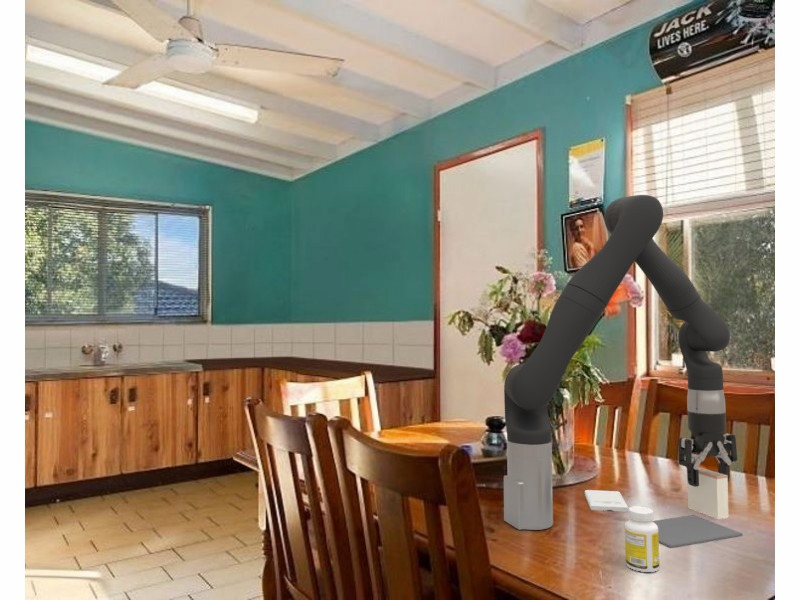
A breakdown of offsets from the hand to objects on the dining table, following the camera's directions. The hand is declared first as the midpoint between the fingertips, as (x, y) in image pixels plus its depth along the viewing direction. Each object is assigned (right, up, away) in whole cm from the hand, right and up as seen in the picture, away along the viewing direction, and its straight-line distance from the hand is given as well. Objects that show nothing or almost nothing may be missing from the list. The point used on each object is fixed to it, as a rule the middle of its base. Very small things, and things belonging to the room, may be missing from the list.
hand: (709, 483), depth 131 cm
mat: (-11, -6, -11) cm, 17 cm away
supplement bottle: (-26, -6, -28) cm, 39 cm away
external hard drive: (-20, -8, +8) cm, 23 cm away
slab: (0, -6, 0) cm, 6 cm away
